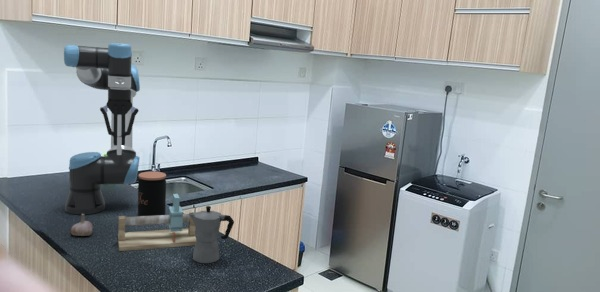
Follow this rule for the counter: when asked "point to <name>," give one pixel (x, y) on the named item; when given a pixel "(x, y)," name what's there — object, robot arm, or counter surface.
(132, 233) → the pipe stand
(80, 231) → the garlic bulb
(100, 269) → the counter surface
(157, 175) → the coffee jar
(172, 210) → the collar
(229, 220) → the coffeepot
